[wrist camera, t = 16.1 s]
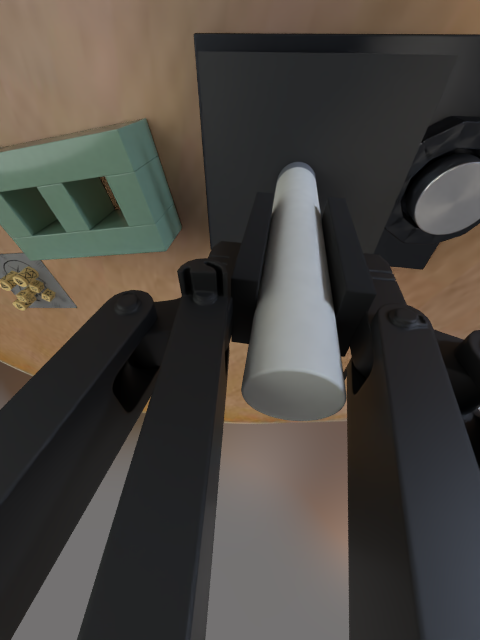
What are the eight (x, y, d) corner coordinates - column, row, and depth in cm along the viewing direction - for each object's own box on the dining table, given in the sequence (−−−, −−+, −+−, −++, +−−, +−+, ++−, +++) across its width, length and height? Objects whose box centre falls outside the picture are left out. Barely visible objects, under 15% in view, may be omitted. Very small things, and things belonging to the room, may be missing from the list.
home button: (394, 219, 17) (402, 232, 16) (425, 150, 15) (437, 159, 13) (457, 224, 17) (470, 238, 16) (502, 154, 14) (522, 164, 13)
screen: (213, 254, 21) (212, 255, 21) (198, 51, 13) (197, 51, 13) (366, 269, 20) (366, 269, 20) (458, 54, 12) (459, 54, 12)
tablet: (212, 246, 24) (205, 260, 22) (196, 33, 14) (182, 30, 12) (432, 266, 22) (443, 284, 20) (580, 35, 12) (627, 32, 11)
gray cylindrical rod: (275, 164, 16) (232, 367, 5) (316, 158, 15) (354, 372, 5) (277, 204, 17) (247, 418, 7) (314, 200, 17) (340, 426, 7)
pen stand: (-5, 148, 20) (-52, 162, 18) (146, 117, 17) (117, 129, 15) (59, 239, 26) (30, 261, 23) (182, 227, 23) (166, 251, 20)
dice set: (29, 300, 34) (18, 310, 32) (-1, 267, 30) (-15, 277, 29) (62, 300, 32) (52, 311, 31) (34, 266, 29) (21, 276, 28)
